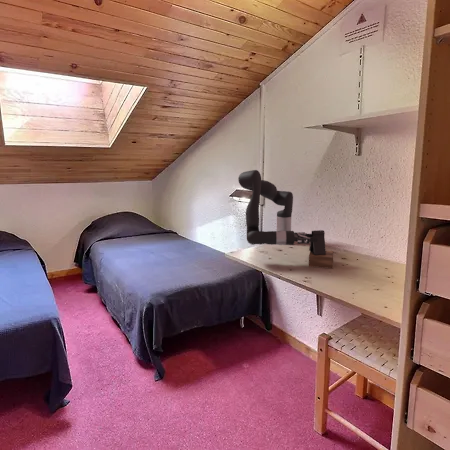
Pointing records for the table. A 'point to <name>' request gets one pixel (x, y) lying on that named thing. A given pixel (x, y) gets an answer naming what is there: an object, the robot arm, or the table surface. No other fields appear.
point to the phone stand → (318, 243)
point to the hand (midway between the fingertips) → (315, 237)
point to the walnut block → (321, 260)
